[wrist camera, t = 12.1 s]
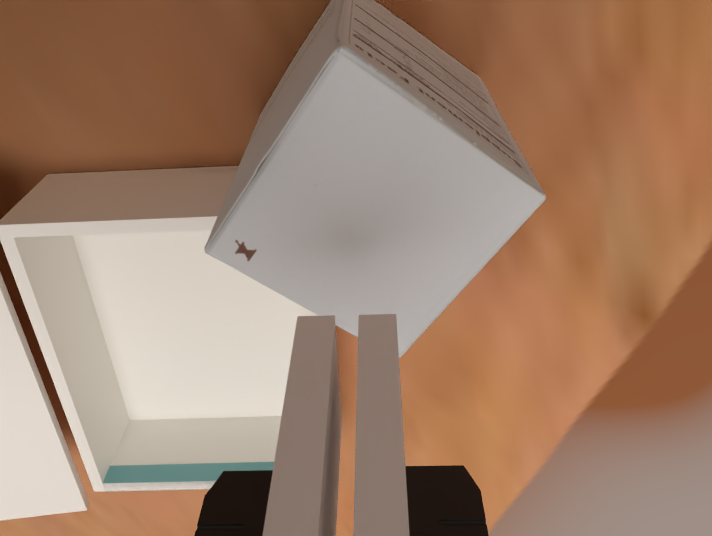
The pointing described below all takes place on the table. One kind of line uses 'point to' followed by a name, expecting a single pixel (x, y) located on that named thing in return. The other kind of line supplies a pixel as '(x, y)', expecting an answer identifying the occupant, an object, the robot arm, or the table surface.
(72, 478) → the lid
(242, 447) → the box
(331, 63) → the supplement box
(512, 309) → the table surface
